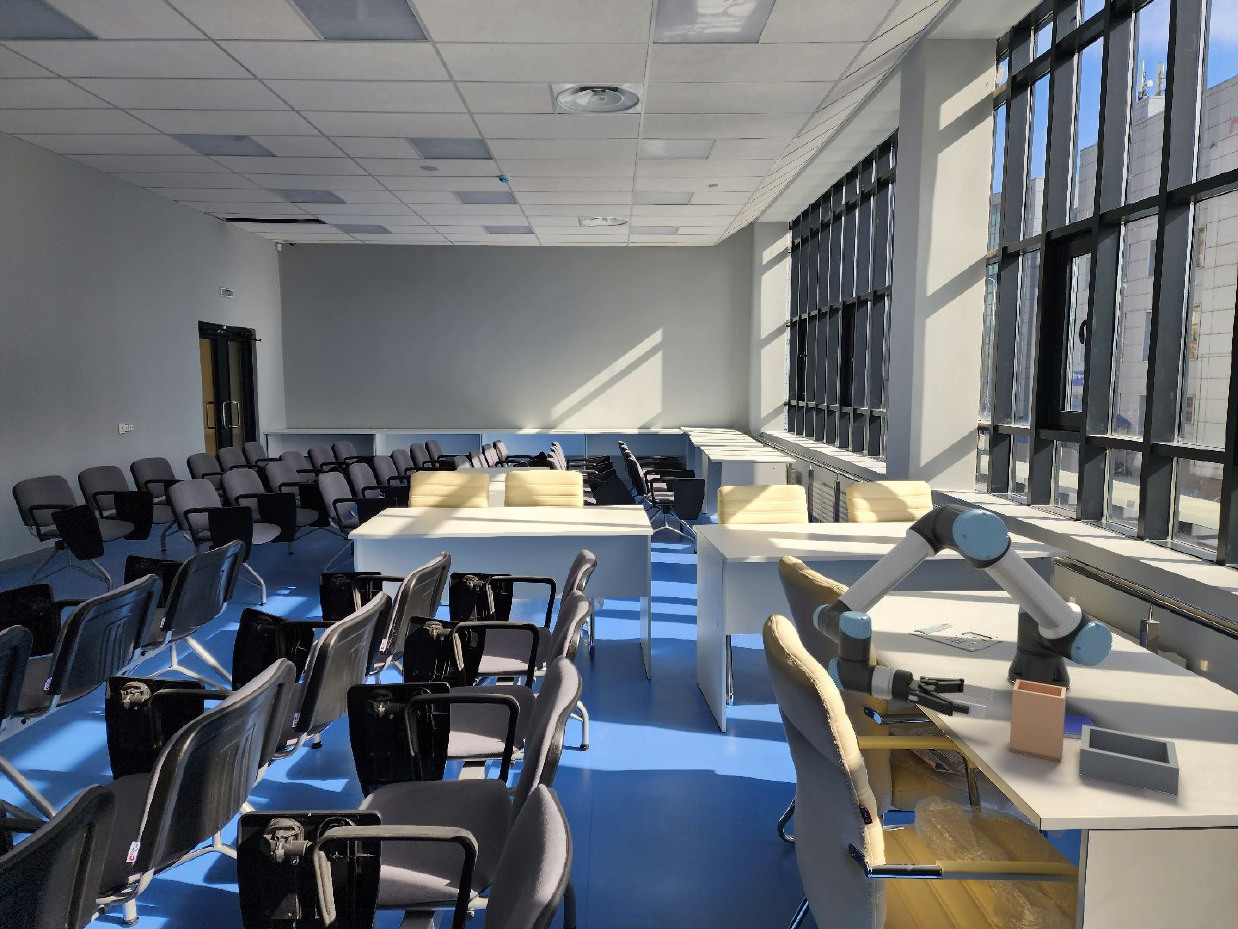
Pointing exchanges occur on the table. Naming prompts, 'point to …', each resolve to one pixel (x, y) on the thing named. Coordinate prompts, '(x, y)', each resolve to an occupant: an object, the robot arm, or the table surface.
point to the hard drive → (1075, 725)
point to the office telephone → (943, 627)
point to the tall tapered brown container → (1037, 720)
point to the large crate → (1129, 759)
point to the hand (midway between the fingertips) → (990, 703)
